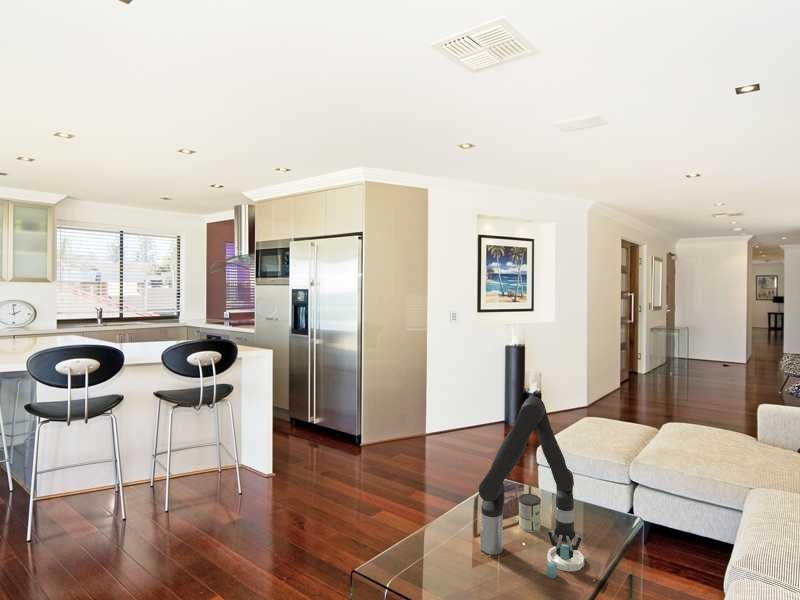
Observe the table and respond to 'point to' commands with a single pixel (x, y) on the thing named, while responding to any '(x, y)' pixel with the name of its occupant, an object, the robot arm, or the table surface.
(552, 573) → the bead
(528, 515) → the coffee can
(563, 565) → the ring tray
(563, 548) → the bead
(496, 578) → the table surface
